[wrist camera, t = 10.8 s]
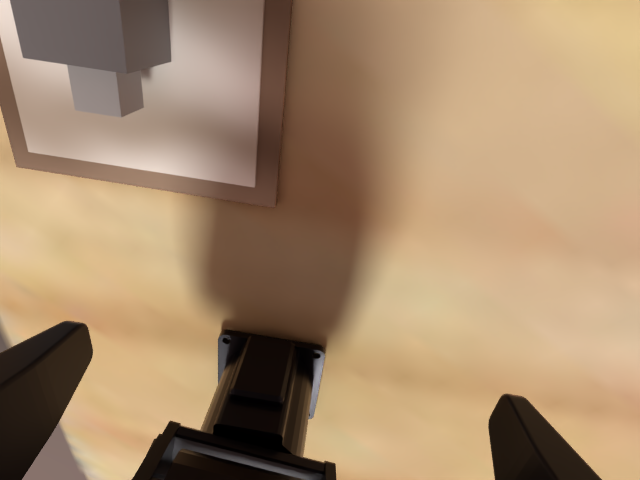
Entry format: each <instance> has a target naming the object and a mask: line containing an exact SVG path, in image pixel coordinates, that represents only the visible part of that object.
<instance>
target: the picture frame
mask: <svg viewBox="0 0 640 480" xmlns="http://www.w3.org/2000/svg"><path fill="white" fill-rule="evenodd" d="M292 1H293V0H168V8H169V26H170V44H171V62H169V63H165V64H161V65H158V66H154V67H150V68H147V69H143V70H141V81H142V92H143V103H144V108H142V109H140V110H137V111H135V112H133V113H131V114H128V115H126V116H124V117H122V118H121V117H114V116H108V115H101V114H95V113H88V112H82V111H76V110H75V107H74V102H73V96H72V91H71V85H70V79H69V74H68V68H67V65H65V64H59V63H52V62H46V61H39V60H32V59H26V58H23V56H22V52H21V47H20V43H19V38H18V34H17V30H16V25H15V21H14V16H13V12H12V8H11V3H10V0H0V107H1V110H2V114H3V118H4V122H5V125H6V129H7V133H8V137H9V140H10V144H11V148H12V152H13V155H14V159H15V163H16V167H19V168H26V169H32V170H38V171H45V172H51V173H57V174H64V175H70V176H76V177H82V178H89V179H95V180H101V181H108V182H114V183H120V184H127V185H133V186H139V187H145V188H152V189H158V190H164V191H171V192H177V193H183V194H190V195H196V196H202V197H208V198H215V199H221V200H227V201H234V202H240V203H246V204H253V205H259V206H265V207H271V208H275V206H276V200H277V187H278V175H279V162H280V150H281V138H282V125H283V113H284V100H285V88H286V75H287V63H288V50H289V38H290V25H291V13H292Z"/></svg>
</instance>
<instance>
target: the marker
mask: <svg viewBox="0 0 640 480" xmlns="http://www.w3.org/2000/svg"><path fill="white" fill-rule="evenodd" d="M10 3H11V8H12V12H13V16H14V21H15V25H16V30H17V34H18V38H19V43H20V47H21V52H22V56H23V58H26V59H32V60H39V61H46V62H52V63H59V64H65V65H67V68H68V74H69V79H70V85H71V91H72V96H73V102H74V107H75V110H76V111H82V112H88V113H95V114H101V115H108V116H114V117H121V118H122V117H124V116H126V115H128V114H131V113H133V112H135V111H137V110H140V109H142V108H144V103H143V92H142V81H141V70H143V69H147V68H150V67H154V66H158V65H161V64H165V63H169V62H171V44H170V26H169V8H168V0H10Z"/></svg>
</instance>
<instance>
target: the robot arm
mask: <svg viewBox="0 0 640 480" xmlns="http://www.w3.org/2000/svg"><path fill="white" fill-rule="evenodd" d="M226 338H228V339H226ZM315 353H319V354H315ZM92 355H93V349H92V344H91V339H90V335H89V330H88V327H87V326H86V324H84V323H80V322H74V321H64V322H62V323H59V324H57V325H55V326H53V327H51V328H49V329H47V330H45V331H43V332H41V333H39V334H37V335H35V336H33V337H31V338H29V339H27V340H25V341H23V342H21V343H19V344H17V345H15V346H13V347H11V348H9V349H7V350H5V351H3V352H1V353H0V480H22V478H23V477H24V475H25V474H26V472H27V471H28V469H29V468H30V466H31V465H32V463H33V462H34V460H35V458H36V457H37V456H38V454H39V452H40V451H41V449H42V448H43V446H44V445H45V443H46V442H47V440H48V439H49V437H50V436H51V434H52V432H53V431H54V429H55V428H56V426H57V424H58V422H59V420H60V419H61V417H62V415H63V413H64V411H65V409H66V407H67V405H68V403H69V402H70V400H71V398H72V396H73V394H74V392H75V390H76V388H77V386H78V384H79V382H80V381H81V379H82V377H83V375H84V373H85V371H86V369H87V367H88V365H89V363H90V361H91V359H92ZM324 358H325V349H324V348H323V347H322V346H320V345H315V344H309V343H303V342H297V341H291V340H285V339H278V338H272V337H266V336H260V335H254V334H248V333H242V332H236V331H230V330H224V331H222V332H221V334H220V336H219V339H218V386H217V389H216V391H215V394H214V397H213V399H212V402H211V404H210V407H209V409H208V412H207V415H206V417H205V420H204V422H203V425H202V427H201V430H196V429H192V428H189V427H185V426H181V423H177V422H173V421H170V422H169V423H168V425H167V427H166V429H165V430H164V432H163V434H159V435H158V437H157V439H154V441H153V443H152V445H151V447H150V449H149V451H148V453H147V455H146V457H145V459H144V460H143V462H142V464H141V466H140V467H139V469H138V471H137V472H136V474H135V476H134V477H133V479H132V480H336V466H335V463H332V462H328V461H325V462H320V461H316V460H312V459H308V458H305V457H303V454H304V447H305V439H306V432H307V425H308V419H311V418H313V416H314V412H315V406H316V401H317V396H318V390H319V385H320V380H321V374H322V369H323V364H324ZM489 436H490V444H491V452H492V460H493V468H494V475H495V480H602V479H601V478H600V477H599V476H598V475H597V474H596V473H595V472H594V471H593V470H592V469H591V467H590V466H589V465H588V464H587V463H586V462H585V461H584V460H583V459H582V458H581V457H580V456H579V455H578V454H577V452H576V451H575V450H574V449H573V448H572V447H571V446H570V445H569V444H568V443H567V442H566V441H565V440H564V439H563V437H562V436H561V435H560V434H559V433H558V432H557V431H556V430H555V429H554V428H553V427H552V426H551V425H550V424H549V422H548V421H547V420H546V419H545V418H544V417H543V416H542V415H541V414H540V413H539V412H538V411H537V410H536V409H535V407H534V406H533V405H532V404H531V403H530V402H529V401H528V400H527V399H526V398H524V397H522V396H518V395H512V394H503V395H502V396H501V397H500V399H499V401H498V403H497V405H496V407H495V408H494V410H493V412H492V414H491V416H490V419H489Z"/></svg>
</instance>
